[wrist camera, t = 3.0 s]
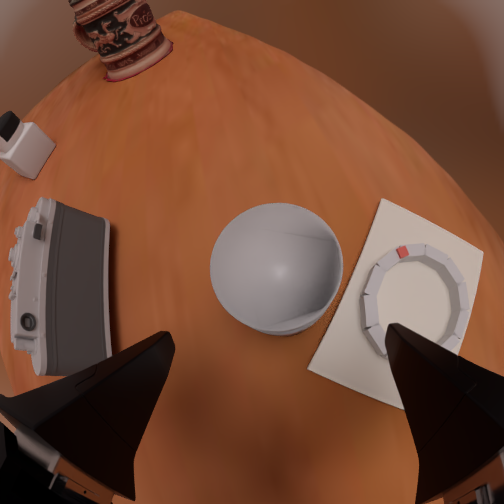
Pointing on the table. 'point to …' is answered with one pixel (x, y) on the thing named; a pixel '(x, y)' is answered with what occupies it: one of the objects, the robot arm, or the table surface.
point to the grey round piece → (276, 268)
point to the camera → (61, 289)
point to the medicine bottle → (23, 145)
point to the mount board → (398, 300)
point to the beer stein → (120, 35)
